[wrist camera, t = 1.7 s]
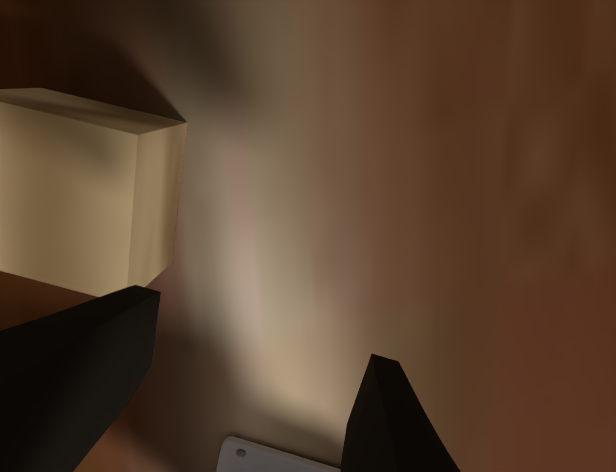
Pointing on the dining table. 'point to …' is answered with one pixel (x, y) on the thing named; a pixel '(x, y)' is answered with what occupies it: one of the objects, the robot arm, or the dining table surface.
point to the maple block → (86, 190)
